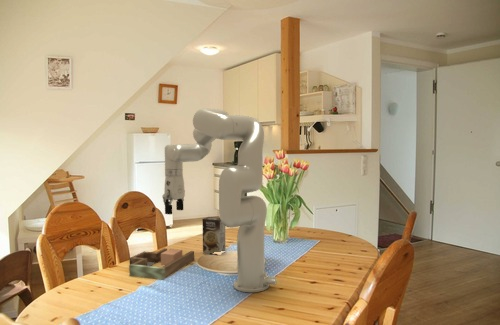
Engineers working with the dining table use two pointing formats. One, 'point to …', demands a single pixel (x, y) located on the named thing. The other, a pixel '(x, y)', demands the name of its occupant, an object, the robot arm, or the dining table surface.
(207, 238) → the coffee box
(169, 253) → the block
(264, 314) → the dining table surface
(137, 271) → the channel
